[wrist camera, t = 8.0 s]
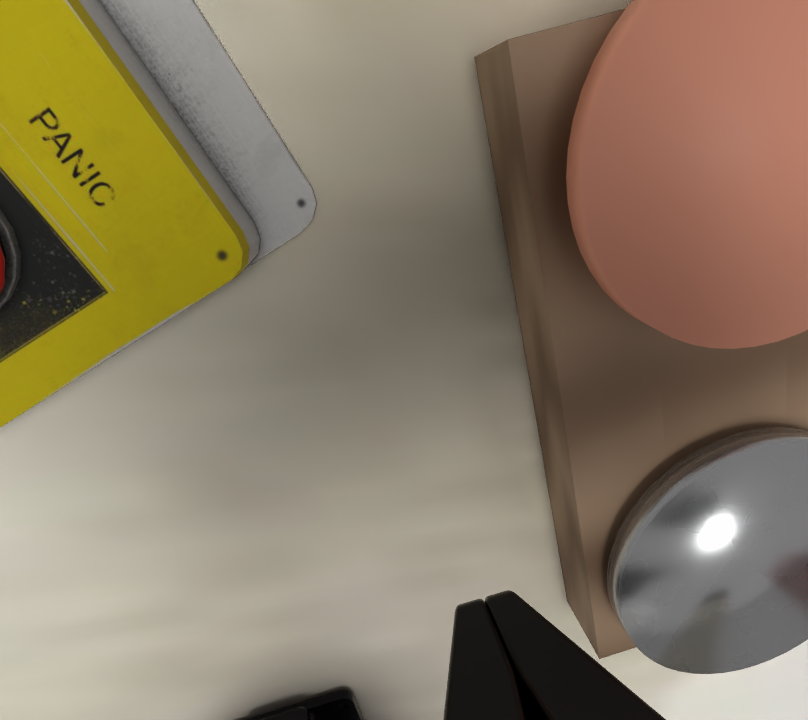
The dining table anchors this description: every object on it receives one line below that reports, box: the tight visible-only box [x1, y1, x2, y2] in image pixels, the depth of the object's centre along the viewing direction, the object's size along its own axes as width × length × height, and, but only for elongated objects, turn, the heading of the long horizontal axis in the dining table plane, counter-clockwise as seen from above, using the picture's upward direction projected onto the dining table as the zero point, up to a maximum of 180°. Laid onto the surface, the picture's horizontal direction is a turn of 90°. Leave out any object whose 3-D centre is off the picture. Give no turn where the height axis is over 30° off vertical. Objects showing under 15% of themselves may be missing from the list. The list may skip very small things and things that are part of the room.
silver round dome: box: [607, 427, 808, 674], centre depth 21 cm, size 10×10×4 cm
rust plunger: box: [566, 0, 808, 349], centre depth 15 cm, size 10×10×4 cm
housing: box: [475, 9, 808, 659], centre depth 19 cm, size 22×11×3 cm, turn 14°
